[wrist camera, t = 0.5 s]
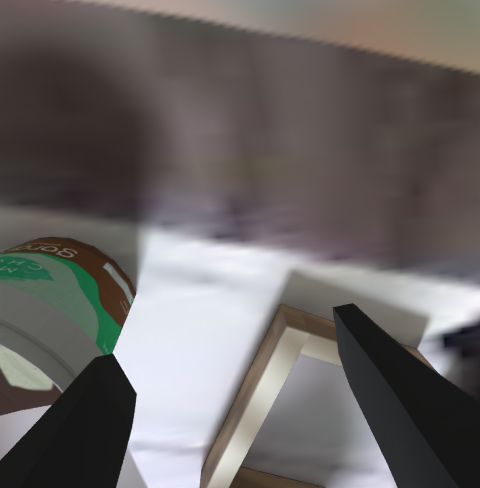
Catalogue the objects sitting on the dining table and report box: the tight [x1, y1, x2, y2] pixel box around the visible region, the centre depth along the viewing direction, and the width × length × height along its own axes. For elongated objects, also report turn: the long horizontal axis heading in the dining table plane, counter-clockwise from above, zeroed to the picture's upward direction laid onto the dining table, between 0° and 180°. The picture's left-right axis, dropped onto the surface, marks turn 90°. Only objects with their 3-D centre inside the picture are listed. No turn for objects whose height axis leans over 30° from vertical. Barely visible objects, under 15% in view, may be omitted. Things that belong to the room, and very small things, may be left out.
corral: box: [200, 305, 438, 488], centre depth 23 cm, size 17×11×3 cm, turn 159°
